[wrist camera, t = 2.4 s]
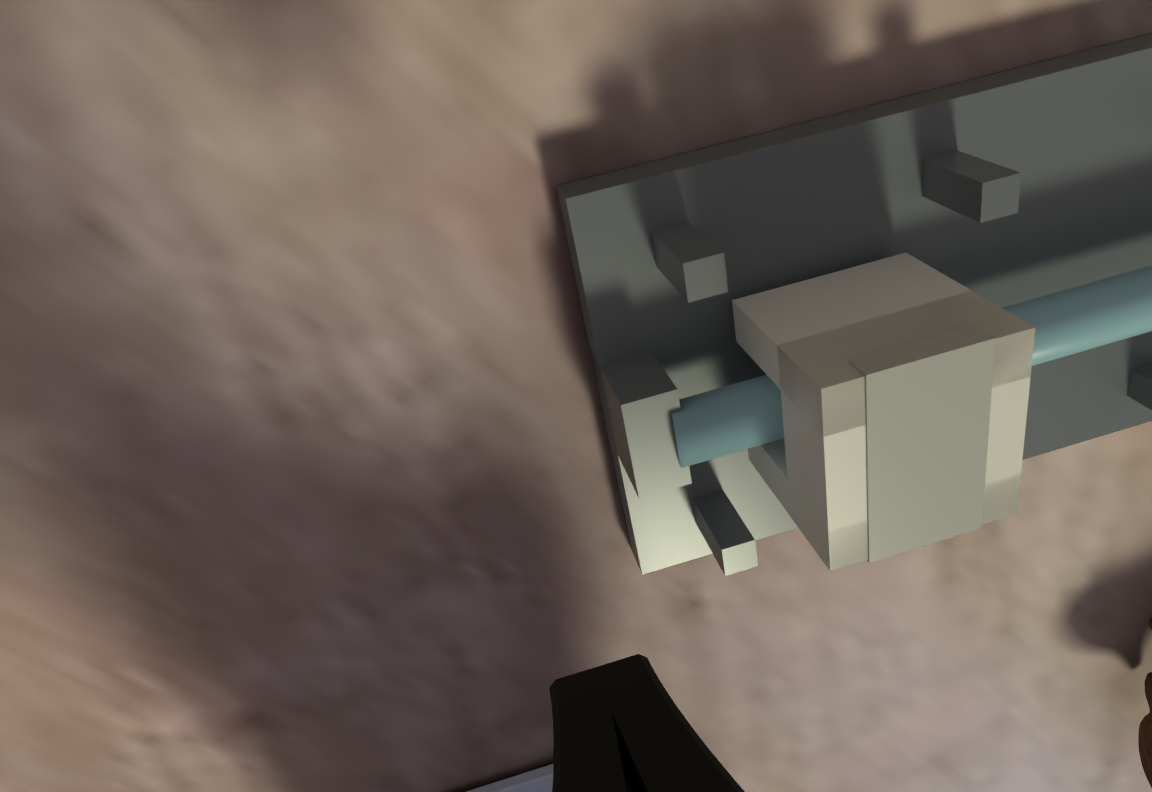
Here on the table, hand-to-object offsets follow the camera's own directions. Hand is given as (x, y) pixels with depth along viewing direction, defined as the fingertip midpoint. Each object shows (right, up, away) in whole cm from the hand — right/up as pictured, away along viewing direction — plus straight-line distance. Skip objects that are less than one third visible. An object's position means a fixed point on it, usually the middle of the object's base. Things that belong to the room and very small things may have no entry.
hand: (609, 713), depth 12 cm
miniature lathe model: (+11, +8, +9) cm, 16 cm away
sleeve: (+5, +5, +7) cm, 10 cm away
